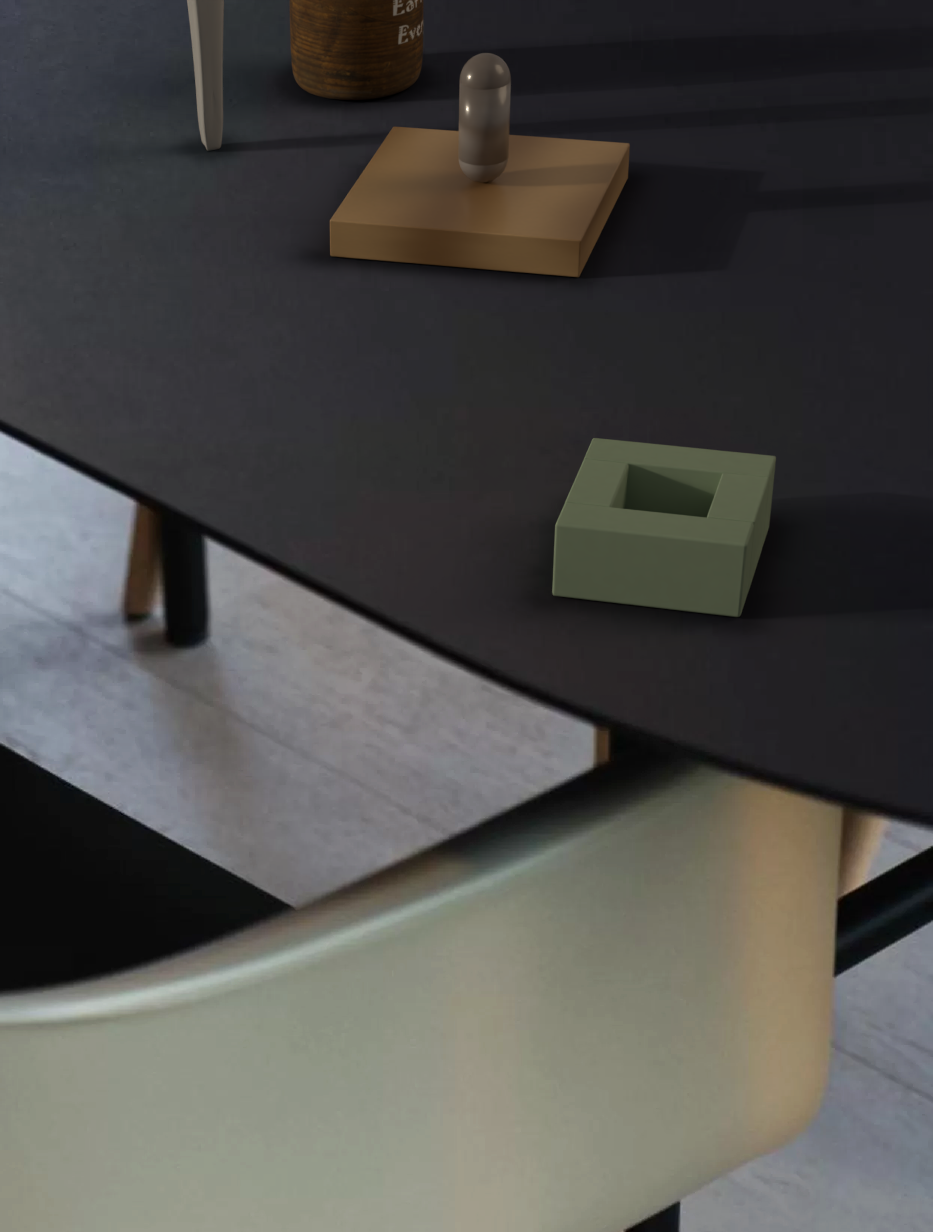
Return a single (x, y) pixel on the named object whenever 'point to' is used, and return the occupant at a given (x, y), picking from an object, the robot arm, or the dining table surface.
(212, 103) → the pen
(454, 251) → the base pad
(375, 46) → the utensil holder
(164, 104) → the dining table surface
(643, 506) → the green square ring block
